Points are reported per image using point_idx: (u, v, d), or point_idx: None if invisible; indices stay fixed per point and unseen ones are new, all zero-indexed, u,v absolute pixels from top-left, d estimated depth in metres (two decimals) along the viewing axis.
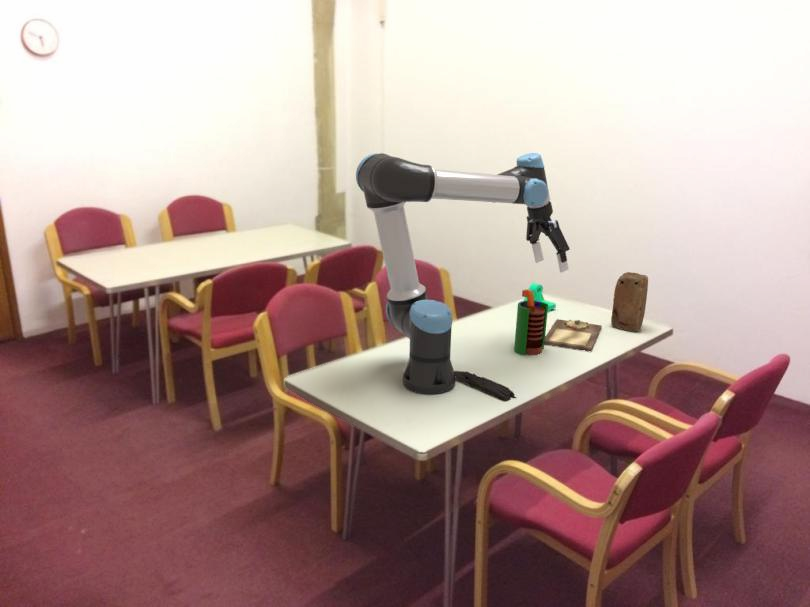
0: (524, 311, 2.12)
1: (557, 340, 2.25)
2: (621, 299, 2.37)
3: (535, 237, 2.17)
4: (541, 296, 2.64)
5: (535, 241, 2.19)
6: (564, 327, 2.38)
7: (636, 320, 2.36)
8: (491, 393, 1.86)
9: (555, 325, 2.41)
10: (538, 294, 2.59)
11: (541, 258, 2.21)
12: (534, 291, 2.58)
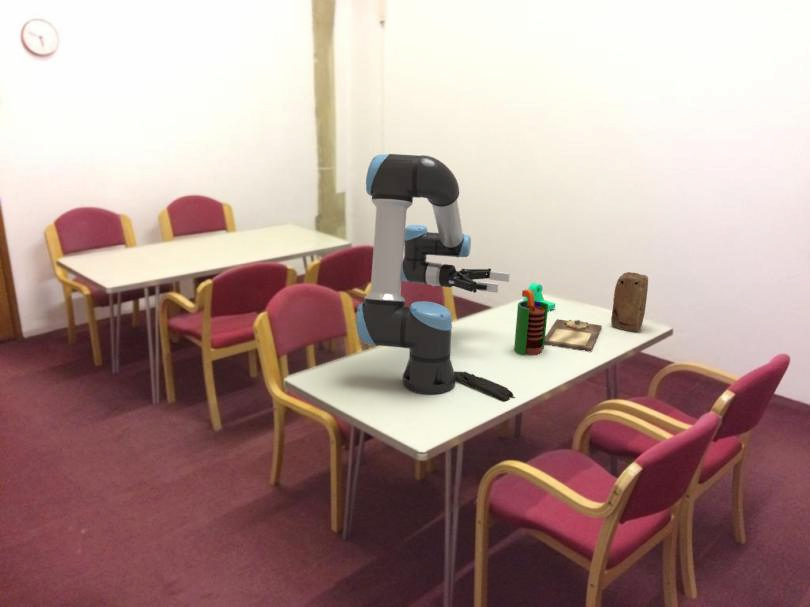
0: (524, 311, 2.12)
1: (557, 340, 2.25)
2: (621, 299, 2.37)
3: None
4: (541, 296, 2.64)
5: None
6: (564, 327, 2.38)
7: (636, 320, 2.36)
8: (490, 393, 1.86)
9: (555, 325, 2.41)
10: (538, 294, 2.60)
11: None
12: (534, 291, 2.58)
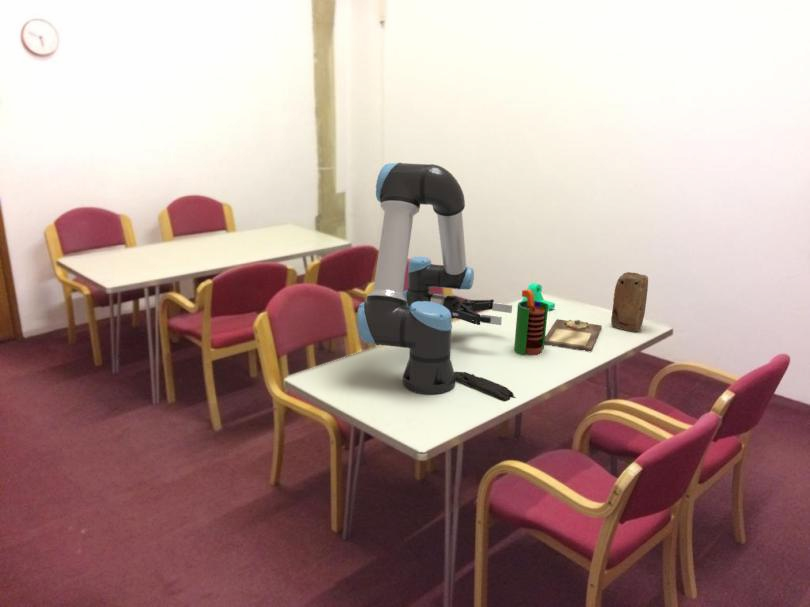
0: (524, 311, 2.12)
1: (557, 340, 2.25)
2: (621, 299, 2.37)
3: None
4: (540, 296, 2.64)
5: None
6: (564, 327, 2.38)
7: (636, 320, 2.36)
8: (490, 393, 1.86)
9: (555, 325, 2.41)
10: (537, 294, 2.60)
11: None
12: (533, 291, 2.59)
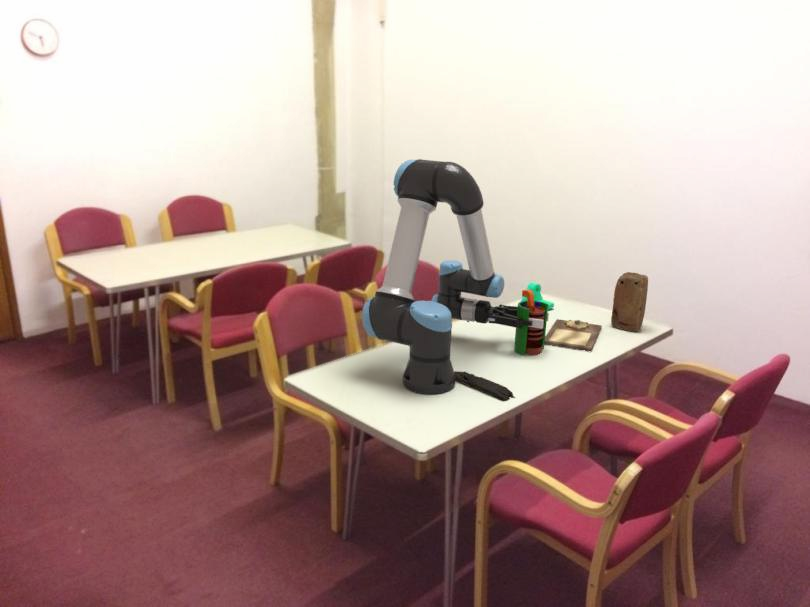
0: (524, 311, 2.12)
1: (557, 340, 2.25)
2: (621, 299, 2.37)
3: None
4: (539, 295, 2.65)
5: None
6: (564, 327, 2.38)
7: (636, 320, 2.36)
8: (490, 393, 1.86)
9: (555, 325, 2.41)
10: (536, 293, 2.60)
11: None
12: (532, 290, 2.59)
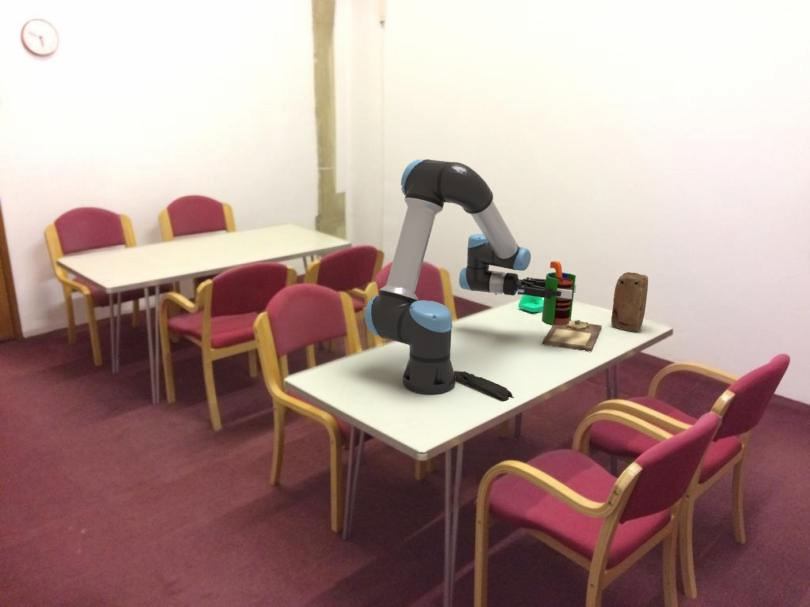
0: (553, 282, 2.16)
1: (557, 340, 2.25)
2: (621, 299, 2.37)
3: None
4: None
5: None
6: (564, 327, 2.38)
7: (636, 320, 2.36)
8: (489, 393, 1.86)
9: (555, 325, 2.41)
10: None
11: None
12: None
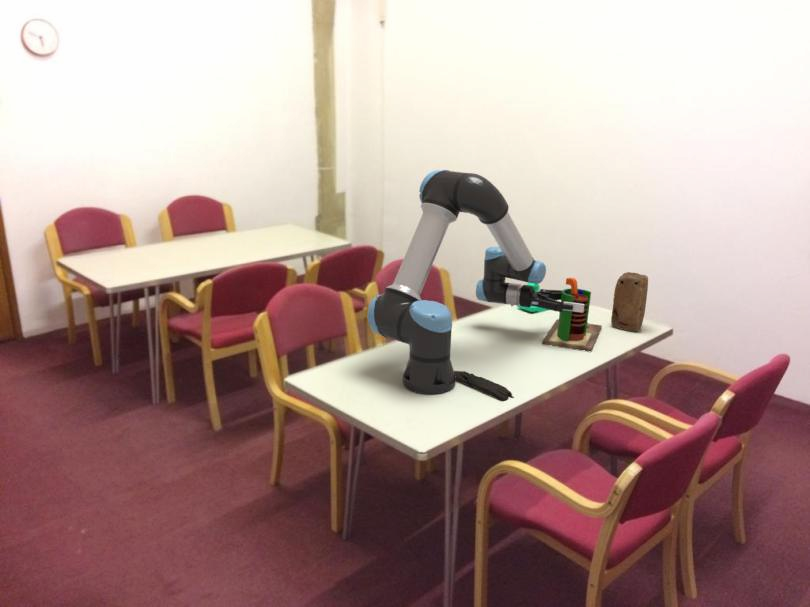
0: (568, 298, 2.21)
1: (557, 340, 2.25)
2: (621, 299, 2.37)
3: None
4: None
5: None
6: None
7: (636, 320, 2.36)
8: (489, 393, 1.87)
9: (555, 325, 2.41)
10: None
11: None
12: None
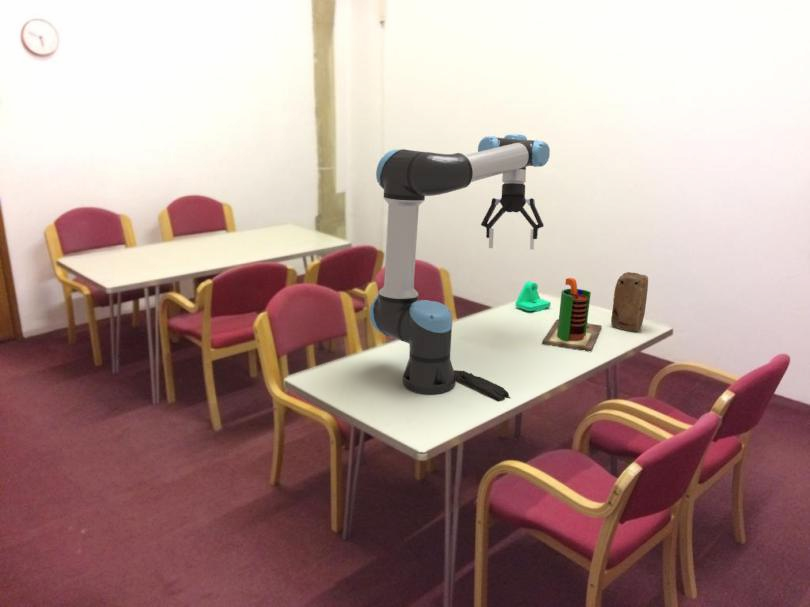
0: (568, 299, 2.21)
1: (557, 340, 2.25)
2: (621, 299, 2.37)
3: (495, 221, 2.23)
4: (536, 294, 2.66)
5: (490, 227, 2.24)
6: None
7: (636, 320, 2.36)
8: (486, 393, 1.87)
9: (555, 325, 2.41)
10: (532, 292, 2.62)
11: (492, 245, 2.25)
12: (528, 289, 2.61)
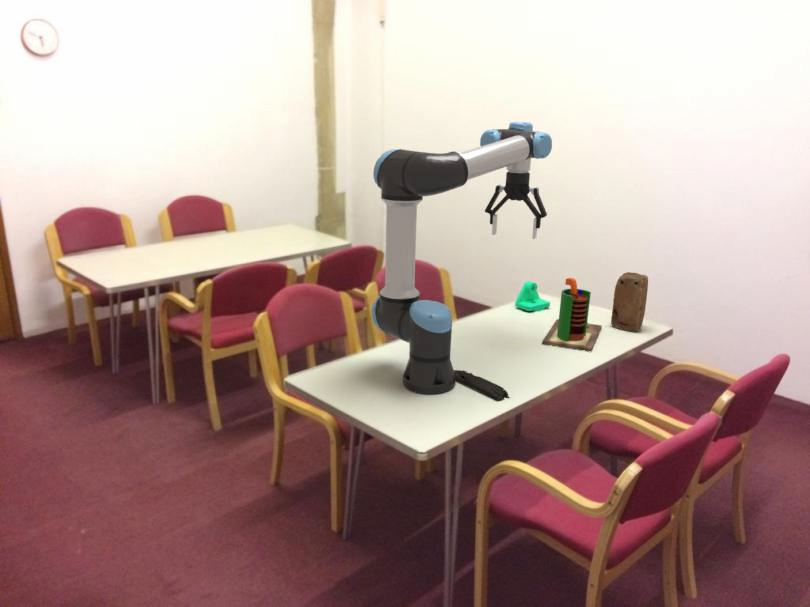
0: (568, 299, 2.21)
1: (557, 340, 2.25)
2: (621, 299, 2.37)
3: (499, 208, 2.23)
4: (536, 294, 2.66)
5: (494, 213, 2.25)
6: None
7: (636, 320, 2.36)
8: (485, 393, 1.87)
9: (555, 325, 2.41)
10: (532, 292, 2.62)
11: (495, 231, 2.27)
12: (528, 289, 2.61)
